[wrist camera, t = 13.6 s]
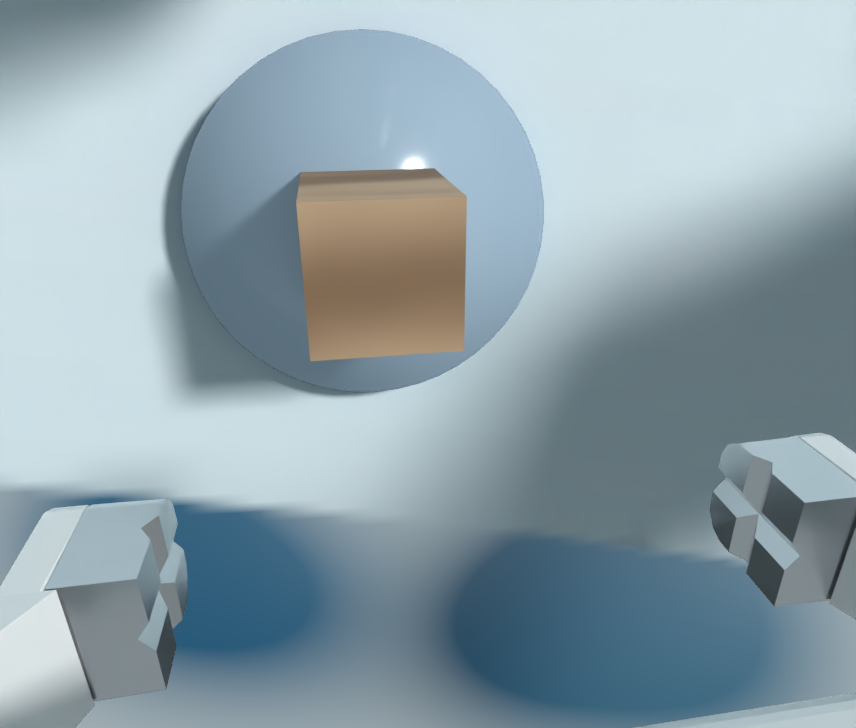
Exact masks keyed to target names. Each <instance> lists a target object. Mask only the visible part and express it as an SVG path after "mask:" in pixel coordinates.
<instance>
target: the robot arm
mask: <svg viewBox="0 0 856 728" xmlns="http://www.w3.org/2000/svg"><path fill="white" fill-rule="evenodd" d="M718 468H719V469H720V471H721V473H722V474H723V476H724V478H725V479H724V480H723V481H722V482H721V483H720V484H719V485H718V486H717V488H716V489H715V490H714V491H713V494H712V500H711V506H710V513H711V519H712V524H713V528H714V530H715V532H716V534H717V537H718V539H719V540H720V542H721V543H722V544H723V545H724V547H725V548H726V549H727V550H728V552H730V553H732V554H734V555H736V556H738V557H740V558H742V559H744V560H746V561H747V569H746V573H747V575H748V576H749V577H750V578H751V579H752V581H753V582H754V583H755V584H756V585H757V586H758V588H759V589H760V590H761V591H762V592H763V594H764V595H765V596H766V597H767V598H768V600H769V601H770V602H771V603H772V604H773V606H783V605H793V604H802V603H811V602H821V601H830V604H831V605H833V606H834V607H836V608H838V609H839V610H841V611H843V612H844V613H846V614H847V615H849V616H851V617H852V618H854V619H856V453H855V452H853V451H852V450H850V449H849V448H848V447H846V446H845V445H844V444H842V443H841V442H840V441H838V440H837V439H835V438H834V437H833V436H831V435H828V434H824V433H820V432H819V433H811V434H804V435H796V436H789V437H787V438H778V439H769V440H760V441H751V442H742V443H733V444H728V445H727V446H726V448H725V449H724V450H723V452H722V454H721V458H720V462H719V466H718ZM177 524H178V523H177V519H176V515H175V511H174V507H173V504H172V503H171V502H170V501H169V499H157V500H144V501H131V502H119V503H106V504H95V505H91V506H89V505H83V506H72V507H62V508H53V509H51V510H49V511H47V512H45V513H44V514H43V515H42V517H41V519H40V520H39V522H38V523H37V525H36V527H35V528H34V530H33V532H32V533H31V535H30V537H29V539H28V540H27V542H26V543H25V545H24V547H23V549H22V550H21V552H20V553H19V555H18V557H17V559H16V560H15V562H14V564H13V565H12V567H11V569H10V570H9V572H8V574H7V575H6V577H5V579H4V580H3V582H2V584H1V586H0V728H75V727H76V726H77V725H78V724H79V723H80V722H81V720H82V719H83V718H84V717H85V716H86V715H87V713H88V712H89V711H90V710H91V709H92V708H93V707H94V701H99V700H105V699H111V698H117V697H123V696H130V695H136V694H142V693H148V692H154V691H160V690H165V689H166V688H167V683H168V679H169V675H170V671H171V667H172V662H173V659H174V655H175V650H176V642H175V637H174V633H173V628H174V627H175V626H176V625H177V624H178V623H179V622H180V621H181V620H182V619H183V616H184V611H185V606H186V602H187V585H188V577H187V566H186V560H185V555H184V550H183V549H182V548H181V547H180V546H179V545H177V544H176V543H175V542H174V541H173V538H174V535H175V531H176V528H177ZM636 728H856V693H851V694H844V695H838V696H832V697H825V698H820V699H813V700H807V701H800V702H794V703H788V704H781V705H775V706H768V707H762V708H756V709H749V710H743V711H737V712H731V713H725V714H718V715H712V716H705V717H699V718H692V719H687V720H680V721H674V722H668V723H661V724H655V725H649V726H643V727H636Z"/></svg>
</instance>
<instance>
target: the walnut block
mask: <svg viewBox="0 0 856 728" xmlns="http://www.w3.org/2000/svg"><path fill="white" fill-rule="evenodd" d="M296 207H297V218H298V229H299V240H300V251H301V262H302V273H303V285H304V296H305V307H306V318H307V329H308V340H309V351H310V361H322V360H337V359H351V358H366V357H380V356H395V355H410V354H424V353H439V352H453V351H464V333H465V276H466V219H467V196H466V195H465V194H463V193H462V192H461V191H460V190H459V189H458V188H457V187H455V186H454V185H453V184H452V183H451V182H450V181H448V180H447V179H446V178H445V177H444V176H443V175H442V174H440V173H439V172H438V171H437V170H436V169H435V168H424V169H390V170H356V171H322V172H301V173H300V180H299V187H298V193H297V200H296Z"/></svg>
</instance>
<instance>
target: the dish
mask: <svg viewBox="0 0 856 728" xmlns="http://www.w3.org/2000/svg"><path fill="white" fill-rule="evenodd" d="M424 168H435V169H436V170H437V171H438V172H439V173H440V174H442V175H443V176H444V177H445V178H446V179H447V180H448V181H450V182H451V183H452V184H453V185H454V186H455V187H457V188H458V189H459V190H460V191H461V192H462V193H463V194H465V195H466V196H467V219H466V276H465V333H464V351H453V352H439V353H424V354H410V355H395V356H380V357H366V358H351V359H337V360H322V361H310V351H309V340H308V329H307V318H306V307H305V296H304V285H303V273H302V262H301V251H300V240H299V229H298V218H297V207H296V200H297V193H298V187H299V180H300V173H301V172H322V171H356V170H390V169H424ZM181 220H182V230H183V240H184V244H185V248H186V253H187V257H188V261H189V264H190V267H191V270H192V272H193V275H194V278H195V280H196V283H197V285H198V287H199V289H200V291H201V293H202V295H203V297H204V298H205V300H206V302H207V304H208V306H209V307H210V309H211V310H212V311H213V313H214V314H215V316H216V317H217V318H218V320H219V321H220V323H221V324H222V325H223V326H224V327H225V329H226V330H227V331H228V332H229V333H230V334H231V335H232V336H233V337H234V338H235V339H236V340H237V341H238V342H239V343H240V344H241V345H242V346H243V347H245V348H246V349H247V350H248V351H249V352H251V353H252V354H253V355H254V356H255V357H257V358H258V359H260V360H262V361H263V362H265V363H266V364H268V365H269V366H271V367H272V368H274V369H276V370H278V371H280V372H282V373H284V374H286V375H288V376H290V377H292V378H295V379H298V380H301V381H303V382H306V383H309V384H312V385H315V386H320V387H325V388H329V389H334V390H342V391H352V392H378V391H385V390H392V389H399V388H403V387H407V386H411V385H415V384H418V383H421V382H424V381H426V380H429V379H432V378H434V377H437V376H439V375H441V374H443V373H445V372H447V371H449V370H450V369H452V368H454V367H456V366H458V365H459V364H461V363H462V362H464V361H465V360H467V359H468V358H469V357H471V356H472V355H474V354H475V353H476V352H477V351H478V350H480V349H481V348H482V347H483V346H484V345H485V344H486V343H488V342H489V341H490V340H491V339H492V338H493V337H494V335H495V334H496V333H497V332H498V331H499V330H500V329H501V328H502V327H503V326H504V324H505V323H506V322H507V320H508V319H509V317H510V316H511V314H512V313H513V312H514V310H515V309H516V307H517V306H518V304H519V302H520V300H521V298H522V296H523V295H524V293H525V291H526V289H527V287H528V284H529V282H530V279H531V277H532V274H533V272H534V269H535V266H536V262H537V258H538V254H539V251H540V247H541V240H542V232H543V224H544V200H543V192H542V184H541V177H540V173H539V169H538V165H537V161H536V158H535V154H534V152H533V149H532V147H531V144H530V142H529V139H528V137H527V134H526V132H525V130H524V129H523V127H522V125H521V123H520V122H519V120H518V118H517V116H516V115H515V113H514V111H513V110H512V108H511V107H510V106H509V105H508V103H507V102H506V101H505V99H504V98H503V97H502V95H501V94H500V93H499V91H497V90H496V89H495V88H494V87H493V86H492V85H491V84H490V83H489V82H488V81H487V80H486V79H485V78H484V77H483V76H482V75H481V74H480V73H479V72H478V71H476V70H475V69H474V68H472V67H471V66H470V65H468V64H467V63H466V62H464V61H463V60H462V59H460V58H458V57H457V56H455V55H453V54H451V53H449V52H448V51H446V50H444V49H442V48H440V47H438V46H436V45H433V44H431V43H428V42H425V41H423V40H420V39H418V38H415V37H411V36H407V35H402V34H398V33H393V32H389V31H377V30H364V29H359V30H345V31H334V32H329V33H325V34H320V35H316V36H312V37H308V38H305V39H303V40H300V41H297V42H295V43H292V44H290V45H287V46H285V47H282V48H281V49H279V50H277V51H275V52H274V53H272V54H270V55H268V56H267V57H265V58H263V59H261V60H260V61H259V62H257V63H256V64H255V65H254V66H252V67H251V68H250V69H248V70H247V71H246V72H245V73H243V74H242V75H241V76H240V77H239V78H238V79H237V80H236V81H235V82H234V83H233V84H232V85H231V86H230V87H229V88H228V89H227V90H226V91H225V92H224V93H223V95H222V96H221V97H220V98H219V100H218V101H217V103H216V104H215V106H214V107H213V108H212V110H211V111H210V113H209V114H208V116H207V117H206V119H205V121H204V123H203V125H202V127H201V129H200V131H199V133H198V135H197V137H196V139H195V141H194V144H193V147H192V150H191V153H190V156H189V159H188V162H187V165H186V171H185V176H184V182H183V187H182V202H181Z"/></svg>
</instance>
